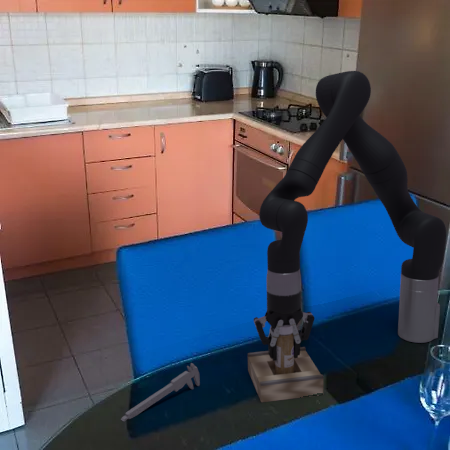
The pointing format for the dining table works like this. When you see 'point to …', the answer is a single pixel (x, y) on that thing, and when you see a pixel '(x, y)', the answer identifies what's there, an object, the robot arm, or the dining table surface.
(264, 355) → the block
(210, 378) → the dining table surface
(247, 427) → the dining table surface
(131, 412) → the caliper
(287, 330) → the sprinkles bottle
